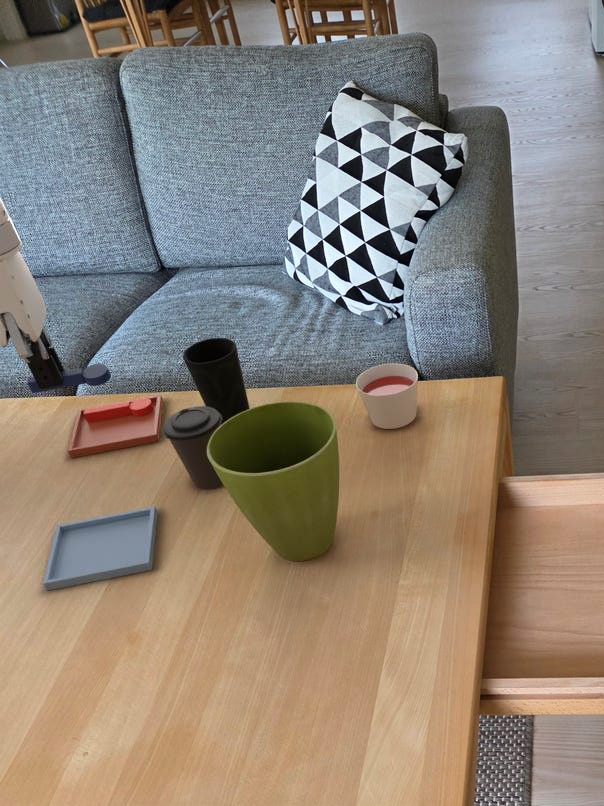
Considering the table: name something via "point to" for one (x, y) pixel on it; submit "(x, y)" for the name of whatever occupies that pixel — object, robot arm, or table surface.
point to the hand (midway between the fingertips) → (53, 381)
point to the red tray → (115, 431)
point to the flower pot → (282, 474)
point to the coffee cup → (195, 442)
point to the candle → (389, 394)
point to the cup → (218, 375)
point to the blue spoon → (77, 377)
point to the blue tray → (101, 548)
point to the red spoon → (119, 410)
